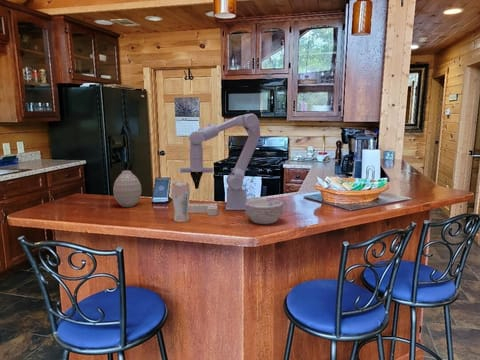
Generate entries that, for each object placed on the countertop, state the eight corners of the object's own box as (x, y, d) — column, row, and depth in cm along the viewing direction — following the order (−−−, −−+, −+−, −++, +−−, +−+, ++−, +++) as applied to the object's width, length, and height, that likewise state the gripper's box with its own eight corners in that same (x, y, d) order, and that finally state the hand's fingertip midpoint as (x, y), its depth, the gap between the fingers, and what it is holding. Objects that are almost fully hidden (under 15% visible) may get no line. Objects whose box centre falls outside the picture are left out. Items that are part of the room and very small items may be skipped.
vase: (143, 207, 174) (142, 172, 171) (114, 209, 169) (113, 173, 166) (140, 201, 185) (138, 168, 183) (113, 203, 181) (111, 169, 178)
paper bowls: (237, 221, 150) (237, 202, 148) (262, 214, 160) (262, 196, 159) (265, 229, 139) (266, 208, 138) (290, 221, 149) (291, 202, 148)
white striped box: (217, 209, 169) (217, 202, 169) (216, 212, 163) (216, 205, 163) (188, 209, 169) (188, 202, 169) (186, 212, 163) (186, 205, 163)
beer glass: (182, 216, 156) (181, 181, 154) (193, 219, 152) (192, 183, 149) (169, 220, 151) (168, 184, 148) (180, 223, 146) (179, 185, 144)
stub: (217, 212, 163) (217, 205, 163) (216, 215, 158) (216, 208, 158) (208, 212, 163) (208, 205, 162) (207, 215, 158) (207, 208, 158)
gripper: (213, 157, 169) (213, 186, 171) (181, 157, 169) (182, 186, 171) (212, 159, 162) (212, 189, 164) (179, 159, 162) (179, 189, 164)
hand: (196, 188), depth 167 cm, fingers closed
